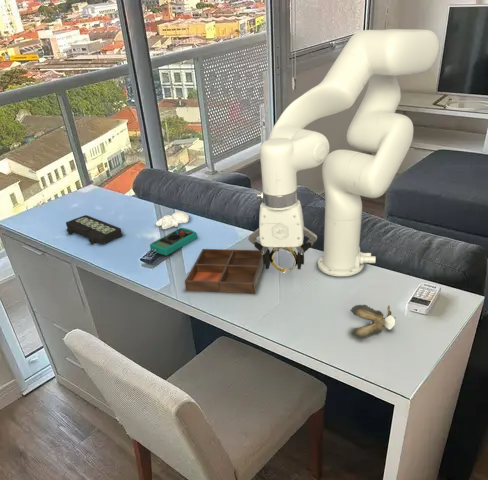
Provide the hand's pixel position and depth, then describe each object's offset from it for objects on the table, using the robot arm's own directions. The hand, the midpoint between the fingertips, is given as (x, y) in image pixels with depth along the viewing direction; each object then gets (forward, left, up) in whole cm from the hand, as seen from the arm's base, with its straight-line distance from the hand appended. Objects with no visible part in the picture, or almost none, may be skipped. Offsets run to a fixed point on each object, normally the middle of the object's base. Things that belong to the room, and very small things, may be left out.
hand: (283, 265), depth 119 cm
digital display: (+70, -35, -10) cm, 79 cm away
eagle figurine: (-21, +12, -10) cm, 26 cm away
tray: (+18, -11, -10) cm, 23 cm away
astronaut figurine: (+45, -45, -10) cm, 64 cm away
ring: (0, 0, -2) cm, 2 cm away
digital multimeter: (+39, -28, -10) cm, 49 cm away
